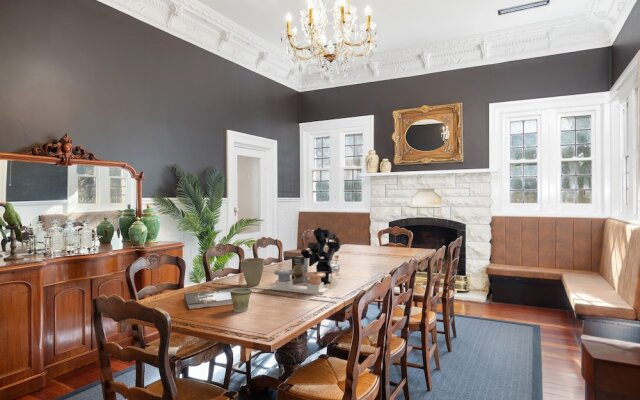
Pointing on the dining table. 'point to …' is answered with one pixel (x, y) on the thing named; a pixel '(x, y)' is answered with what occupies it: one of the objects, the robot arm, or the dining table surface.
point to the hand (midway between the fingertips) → (309, 266)
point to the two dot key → (284, 274)
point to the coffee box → (299, 268)
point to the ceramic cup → (240, 299)
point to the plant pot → (252, 270)
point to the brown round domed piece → (315, 277)
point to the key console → (300, 287)
